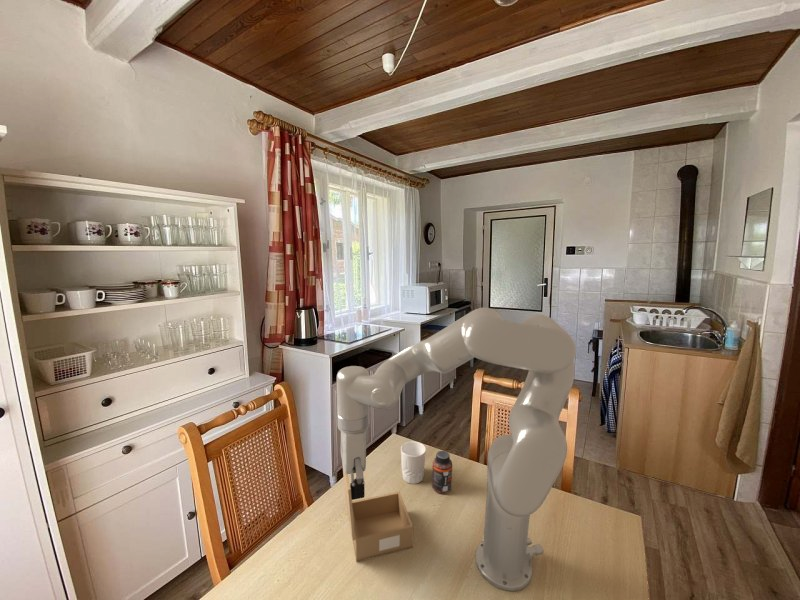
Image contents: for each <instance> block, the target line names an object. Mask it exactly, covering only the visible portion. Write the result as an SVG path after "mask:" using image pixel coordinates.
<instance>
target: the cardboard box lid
mask: <svg viewBox="0 0 800 600" xmlns="http://www.w3.org/2000/svg"><path fill="white" fill-rule="evenodd" d="M341 463H342V462H341ZM342 466H343V463H342ZM342 474H343V486H344V495H345V505H346V510H347V516H348V522H349V528H350V533H351V538H352V541H353V540H355V531H354V520H353V509H352V501H353V500H352V498H351V488H350V478H349V474H345V472H344V468H343V467H342Z"/></svg>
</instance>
